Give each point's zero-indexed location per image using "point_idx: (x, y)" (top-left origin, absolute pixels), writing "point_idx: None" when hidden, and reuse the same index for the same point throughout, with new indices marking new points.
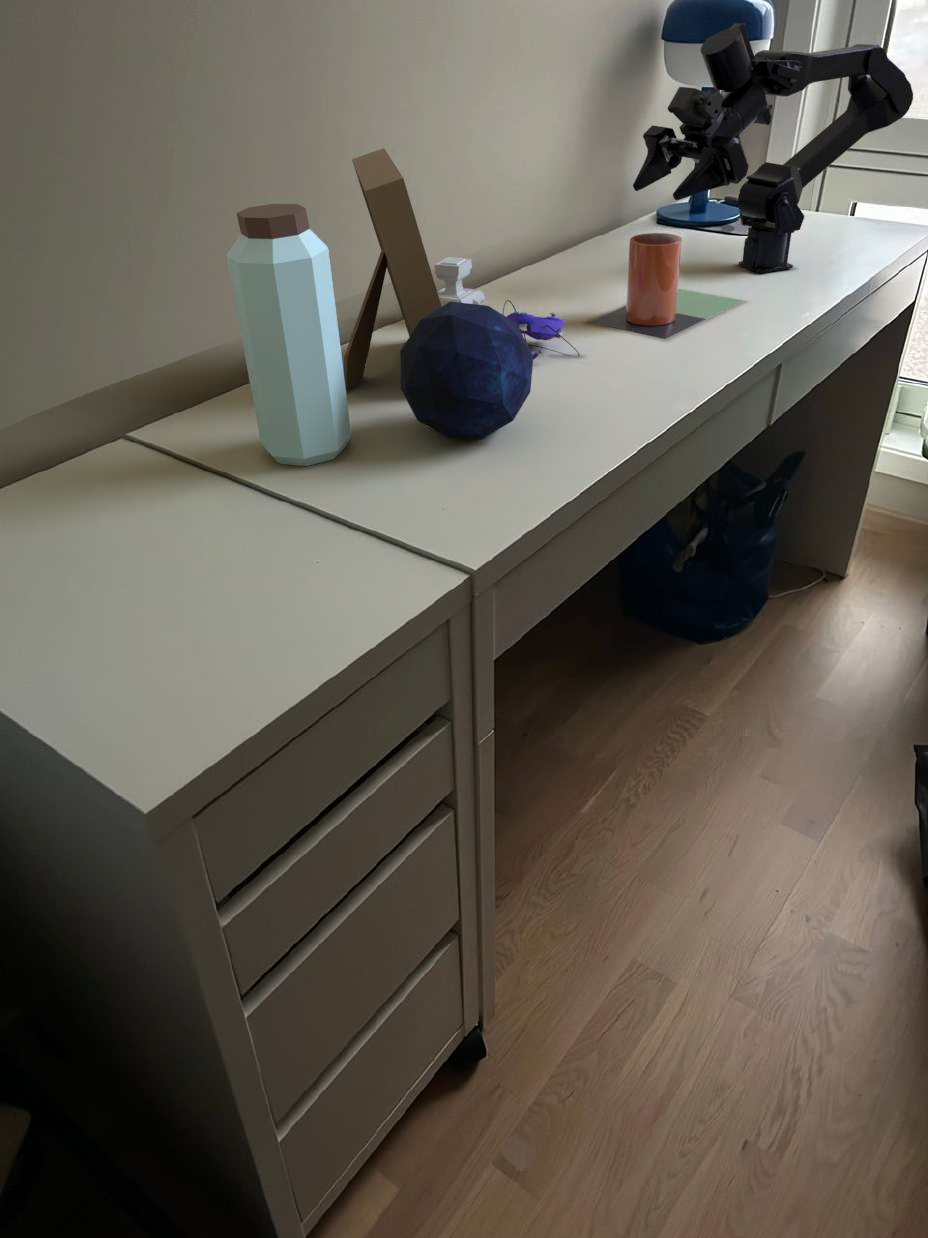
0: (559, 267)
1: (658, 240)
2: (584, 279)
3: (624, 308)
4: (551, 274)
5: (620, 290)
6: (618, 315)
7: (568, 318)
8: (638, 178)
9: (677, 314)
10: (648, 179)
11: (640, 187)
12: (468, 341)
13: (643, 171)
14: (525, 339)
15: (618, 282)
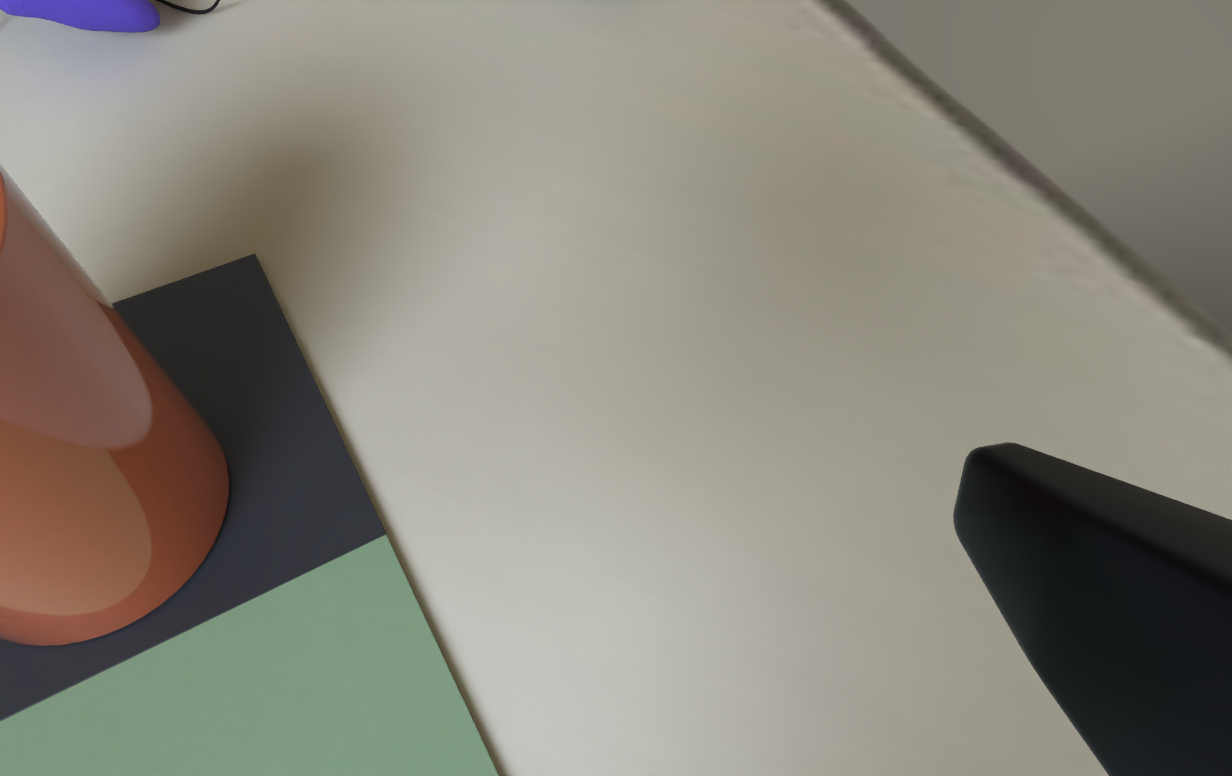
0: (1215, 513)
1: None
2: (948, 533)
3: (331, 472)
4: (1084, 425)
5: (670, 616)
6: (249, 397)
7: (373, 223)
8: (1072, 492)
9: (38, 682)
10: (1152, 736)
11: (991, 574)
12: None
13: (1210, 569)
14: (210, 8)
15: (830, 681)
